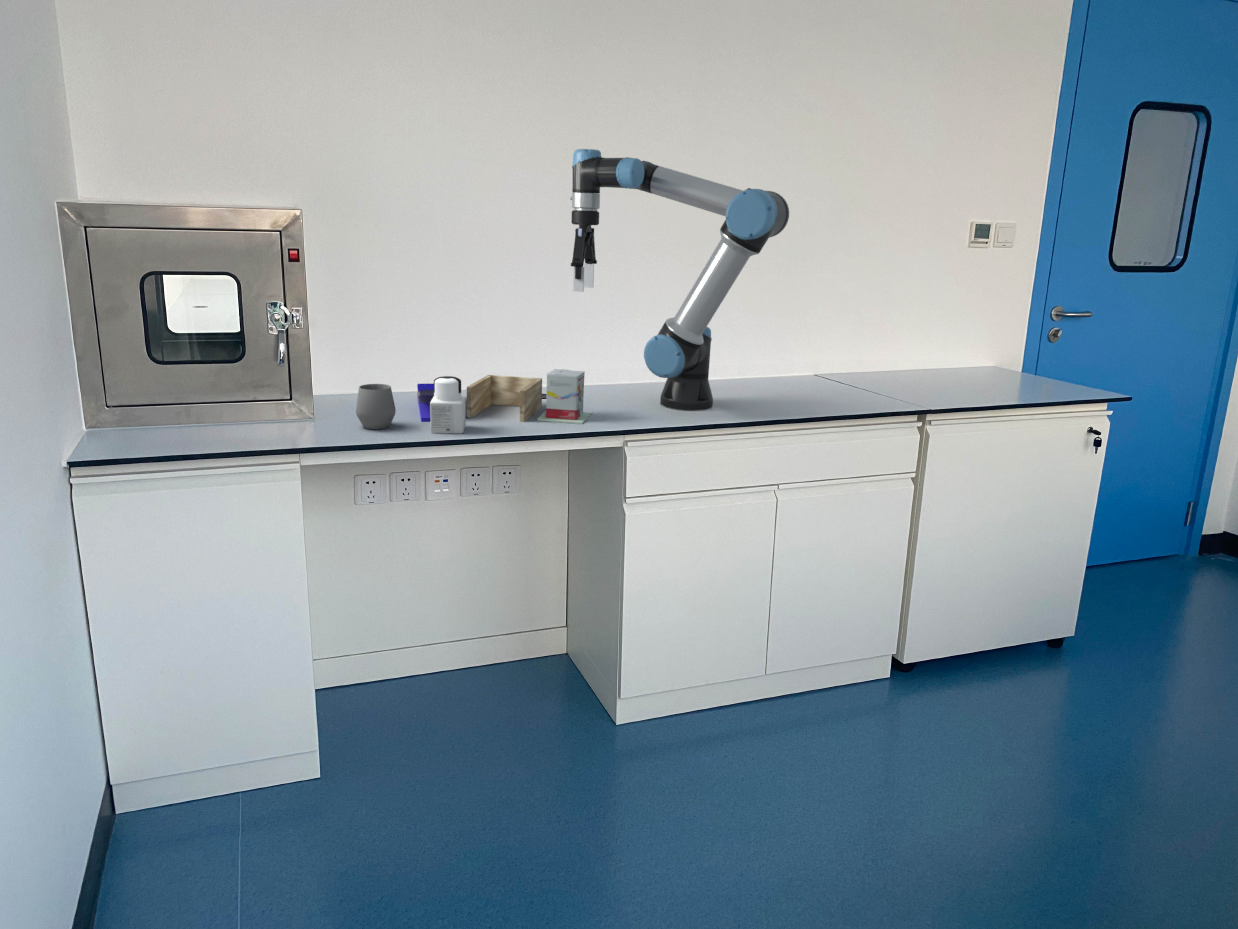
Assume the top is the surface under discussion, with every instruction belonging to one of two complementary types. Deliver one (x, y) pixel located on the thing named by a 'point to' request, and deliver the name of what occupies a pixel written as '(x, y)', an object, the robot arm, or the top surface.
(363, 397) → the cup
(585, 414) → the mat
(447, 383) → the container
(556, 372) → the ink box
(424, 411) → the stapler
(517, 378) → the u-shaped enclosure
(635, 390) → the top surface
